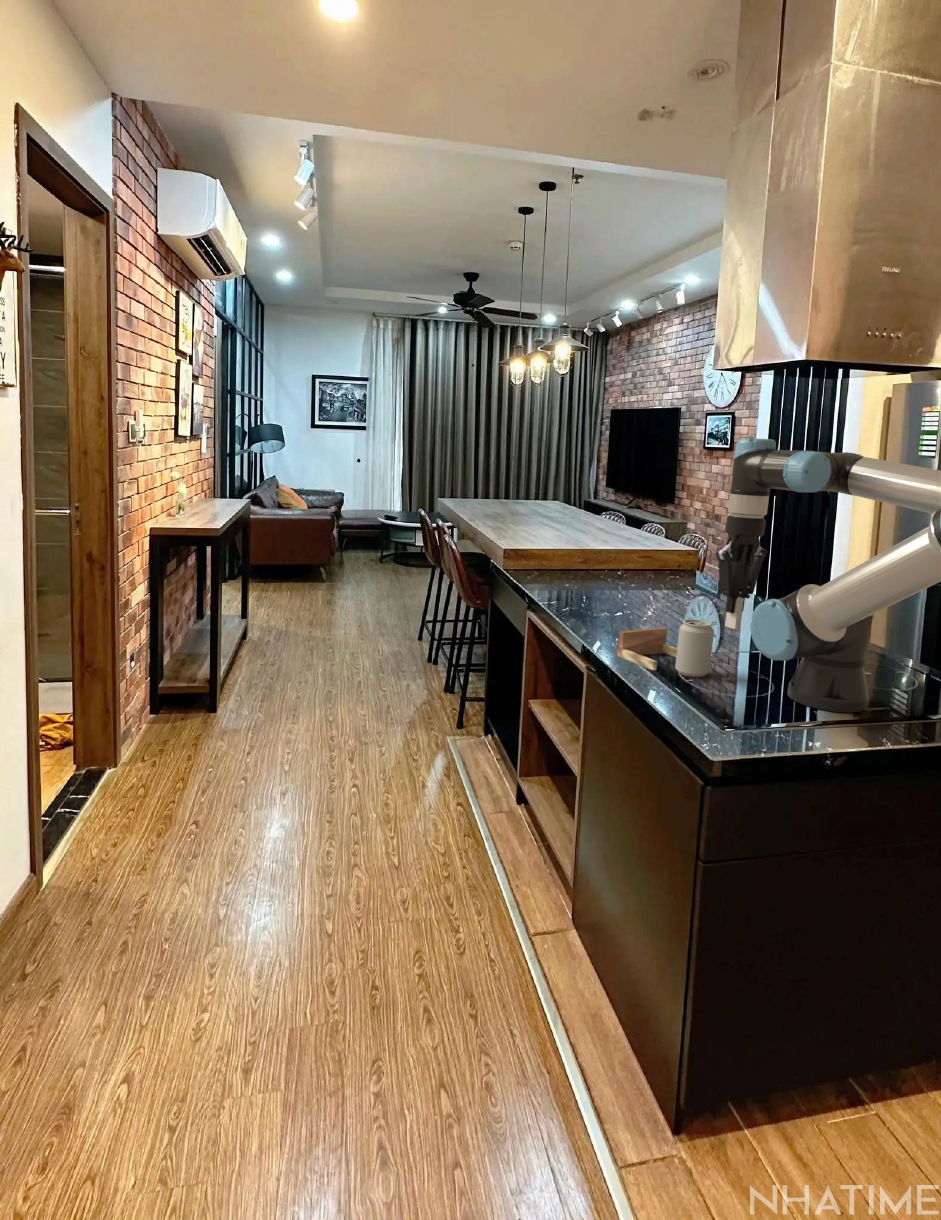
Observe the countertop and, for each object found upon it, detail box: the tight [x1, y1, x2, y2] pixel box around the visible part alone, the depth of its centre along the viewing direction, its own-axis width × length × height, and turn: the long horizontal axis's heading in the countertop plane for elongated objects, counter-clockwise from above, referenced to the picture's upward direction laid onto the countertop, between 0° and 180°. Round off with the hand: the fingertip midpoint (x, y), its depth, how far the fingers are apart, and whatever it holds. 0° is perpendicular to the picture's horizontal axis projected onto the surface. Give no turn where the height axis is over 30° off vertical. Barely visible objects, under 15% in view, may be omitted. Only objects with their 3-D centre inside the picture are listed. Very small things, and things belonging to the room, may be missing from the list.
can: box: [674, 618, 715, 678], centre depth 172 cm, size 8×8×12 cm
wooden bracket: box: [616, 626, 677, 671], centre depth 182 cm, size 12×14×6 cm
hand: (732, 627), depth 162 cm, fingers closed
